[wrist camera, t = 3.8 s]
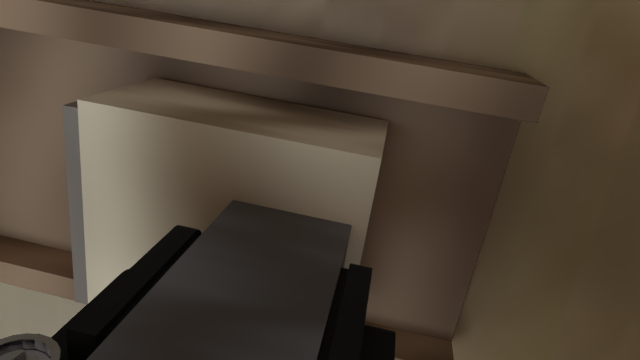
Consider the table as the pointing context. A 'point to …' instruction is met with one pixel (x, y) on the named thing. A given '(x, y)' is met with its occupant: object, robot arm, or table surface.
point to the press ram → (218, 215)
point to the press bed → (282, 85)
